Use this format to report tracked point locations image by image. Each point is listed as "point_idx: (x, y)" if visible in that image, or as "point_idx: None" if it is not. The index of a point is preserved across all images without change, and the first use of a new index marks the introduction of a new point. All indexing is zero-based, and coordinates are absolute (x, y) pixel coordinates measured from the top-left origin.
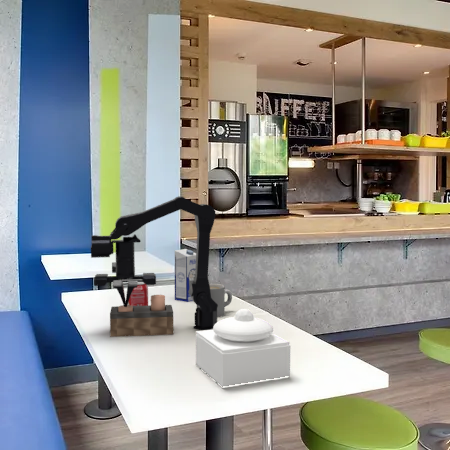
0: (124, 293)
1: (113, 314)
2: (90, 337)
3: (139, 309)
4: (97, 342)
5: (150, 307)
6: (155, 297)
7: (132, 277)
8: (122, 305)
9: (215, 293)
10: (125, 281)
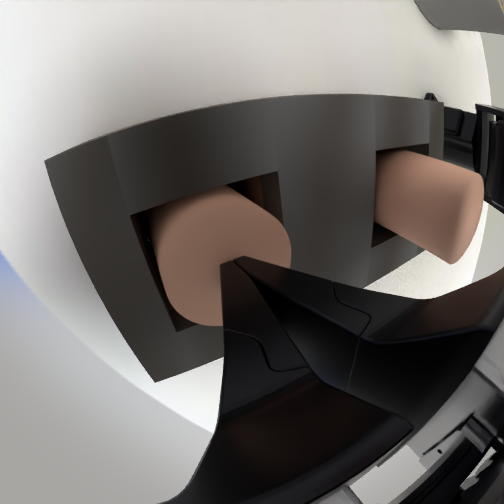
0: (284, 329)
1: (174, 373)
2: (61, 319)
3: (322, 227)
4: (124, 361)
5: (377, 149)
6: (452, 261)
7: (464, 485)
8: (189, 232)
9: (502, 34)
10: (413, 494)
